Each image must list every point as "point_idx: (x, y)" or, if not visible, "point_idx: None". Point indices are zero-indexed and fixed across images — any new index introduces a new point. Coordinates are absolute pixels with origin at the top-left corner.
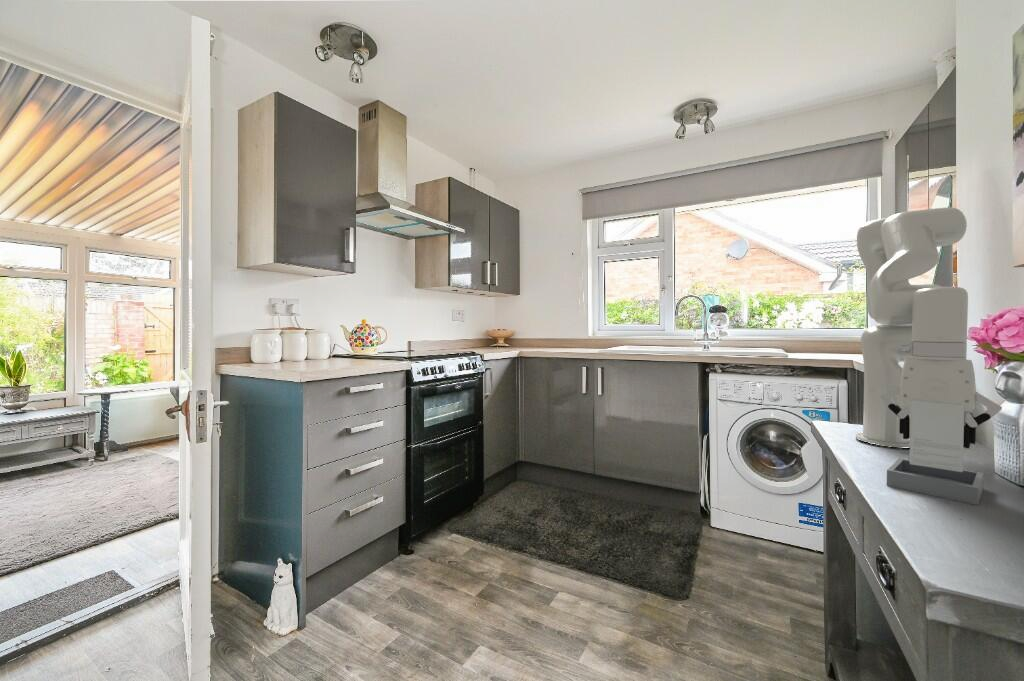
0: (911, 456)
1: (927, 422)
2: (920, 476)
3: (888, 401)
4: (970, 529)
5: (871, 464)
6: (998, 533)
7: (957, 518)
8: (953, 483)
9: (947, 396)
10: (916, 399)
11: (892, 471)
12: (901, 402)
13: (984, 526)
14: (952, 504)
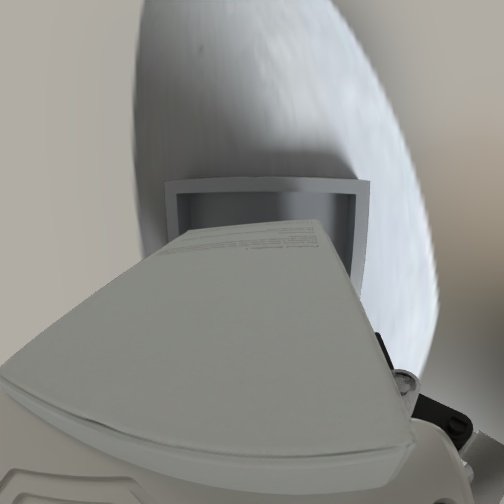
0: (317, 224)
1: (244, 289)
2: (286, 179)
3: (478, 454)
4: (187, 15)
5: (392, 356)
6: (154, 35)
7: (205, 48)
8: (210, 179)
9: (26, 473)
10: (328, 501)
11: (355, 180)
12: (447, 439)
13: (169, 47)
14: (220, 136)
